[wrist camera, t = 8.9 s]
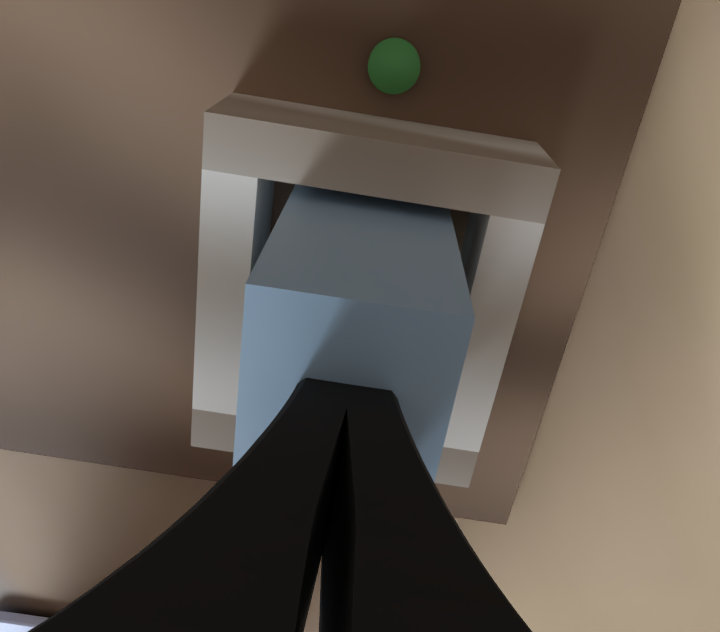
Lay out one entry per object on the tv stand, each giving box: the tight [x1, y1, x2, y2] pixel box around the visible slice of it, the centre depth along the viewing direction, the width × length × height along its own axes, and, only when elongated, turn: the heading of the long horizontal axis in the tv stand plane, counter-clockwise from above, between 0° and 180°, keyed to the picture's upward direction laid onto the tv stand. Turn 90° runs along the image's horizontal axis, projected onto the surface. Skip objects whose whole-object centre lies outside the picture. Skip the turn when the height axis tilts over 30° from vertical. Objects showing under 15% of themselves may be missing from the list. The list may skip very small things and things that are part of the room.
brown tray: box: [0, 0, 681, 525], centre depth 14 cm, size 13×22×3 cm, turn 82°
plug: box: [233, 184, 475, 482], centre depth 12 cm, size 4×3×6 cm
